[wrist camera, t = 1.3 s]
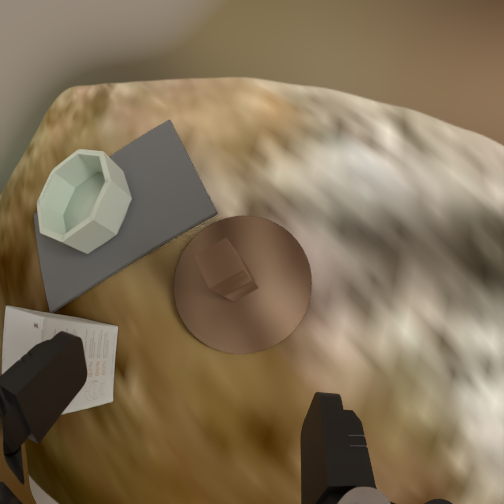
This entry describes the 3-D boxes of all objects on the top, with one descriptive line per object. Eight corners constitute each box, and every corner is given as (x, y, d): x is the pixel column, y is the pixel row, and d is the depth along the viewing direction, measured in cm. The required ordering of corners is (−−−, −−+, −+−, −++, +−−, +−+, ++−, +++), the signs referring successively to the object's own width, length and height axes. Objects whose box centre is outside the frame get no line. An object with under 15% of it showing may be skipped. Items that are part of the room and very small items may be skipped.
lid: (270, 198, 29) (257, 150, 21) (336, 311, 25) (351, 299, 17) (159, 258, 29) (115, 231, 21) (211, 375, 25) (176, 388, 18)
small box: (79, 316, 28) (5, 302, 18) (120, 325, 27) (44, 314, 17) (73, 388, 26) (0, 395, 16) (114, 403, 25) (39, 420, 15)
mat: (171, 122, 33) (169, 119, 33) (217, 213, 29) (216, 211, 28) (36, 216, 34) (33, 214, 33) (53, 313, 29) (50, 312, 29)
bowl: (120, 156, 33) (99, 134, 28) (142, 222, 29) (117, 203, 25) (59, 200, 33) (35, 184, 28) (72, 268, 30) (43, 256, 25)
